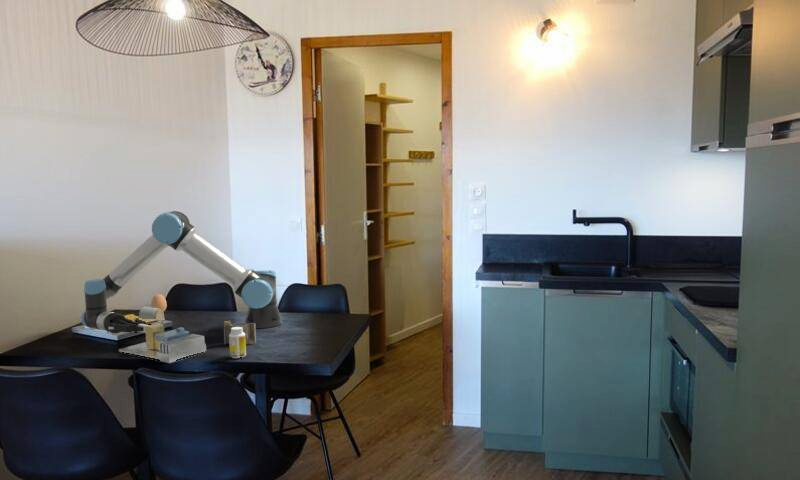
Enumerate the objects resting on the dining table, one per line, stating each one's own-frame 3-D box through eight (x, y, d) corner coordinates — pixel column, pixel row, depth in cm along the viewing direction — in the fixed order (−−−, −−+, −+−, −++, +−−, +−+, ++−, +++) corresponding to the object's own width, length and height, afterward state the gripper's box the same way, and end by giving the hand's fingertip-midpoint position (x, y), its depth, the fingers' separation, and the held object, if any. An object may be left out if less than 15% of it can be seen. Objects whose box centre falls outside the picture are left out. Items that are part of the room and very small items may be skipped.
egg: (149, 313, 303) (148, 294, 302) (163, 311, 308) (162, 292, 307) (155, 315, 298) (154, 296, 297) (169, 313, 303) (168, 294, 302)
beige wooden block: (146, 347, 239) (145, 326, 238) (158, 344, 243) (156, 323, 242) (166, 352, 233) (164, 329, 232) (177, 348, 237) (176, 326, 236)
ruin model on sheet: (224, 346, 246) (223, 320, 245) (225, 344, 249) (224, 319, 248) (255, 345, 247) (254, 319, 246) (256, 343, 250) (255, 317, 249)
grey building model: (119, 351, 239) (117, 330, 238) (156, 341, 252) (155, 321, 251) (169, 363, 224) (168, 340, 223) (206, 351, 237) (205, 330, 236)
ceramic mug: (156, 326, 277) (155, 308, 276) (138, 326, 279) (137, 308, 278) (169, 321, 287) (168, 304, 287) (152, 321, 289) (151, 303, 288)
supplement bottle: (246, 353, 234) (245, 325, 233) (245, 358, 228) (244, 329, 227) (230, 354, 233) (229, 326, 232) (229, 359, 227) (228, 330, 226)
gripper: (127, 328, 259) (166, 335, 246) (96, 335, 248) (135, 343, 235) (126, 309, 258) (165, 316, 245) (95, 316, 247) (134, 323, 235)
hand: (150, 329), depth 240 cm, fingers closed
